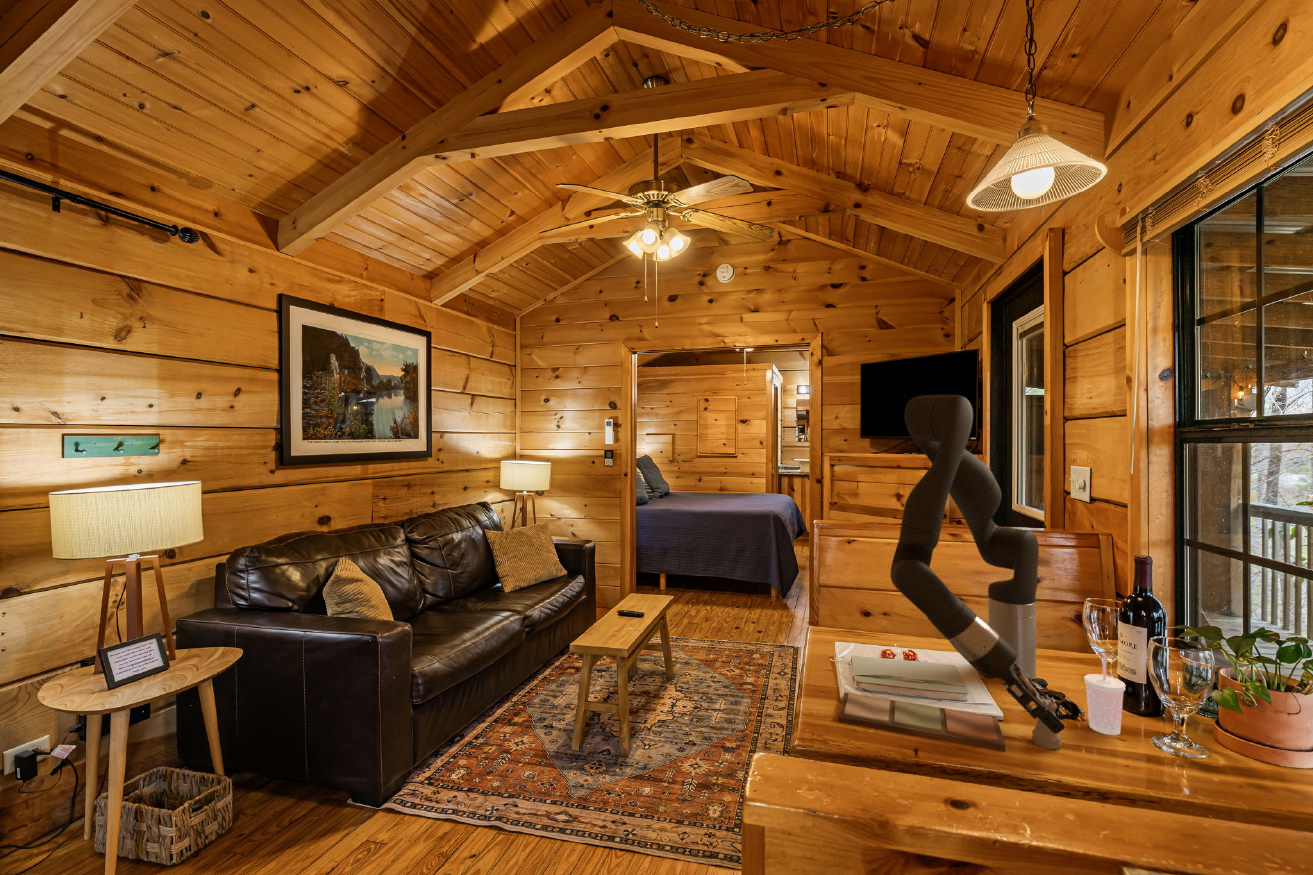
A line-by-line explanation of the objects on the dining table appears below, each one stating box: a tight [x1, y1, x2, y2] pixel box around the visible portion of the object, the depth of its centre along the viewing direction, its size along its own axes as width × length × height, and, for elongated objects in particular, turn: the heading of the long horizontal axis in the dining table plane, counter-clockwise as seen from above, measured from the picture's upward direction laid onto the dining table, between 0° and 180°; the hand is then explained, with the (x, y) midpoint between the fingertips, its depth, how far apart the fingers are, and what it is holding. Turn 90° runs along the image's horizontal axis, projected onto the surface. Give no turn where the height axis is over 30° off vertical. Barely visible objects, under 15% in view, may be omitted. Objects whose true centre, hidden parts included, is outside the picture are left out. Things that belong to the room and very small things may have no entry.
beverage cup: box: [1083, 653, 1126, 736], centre depth 109 cm, size 6×6×14 cm
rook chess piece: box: [1031, 696, 1062, 751], centre depth 104 cm, size 4×4×8 cm
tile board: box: [837, 691, 1006, 752], centre depth 112 cm, size 11×28×1 cm, turn 67°
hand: (1054, 718), depth 103 cm, fingers open, 8 cm apart
